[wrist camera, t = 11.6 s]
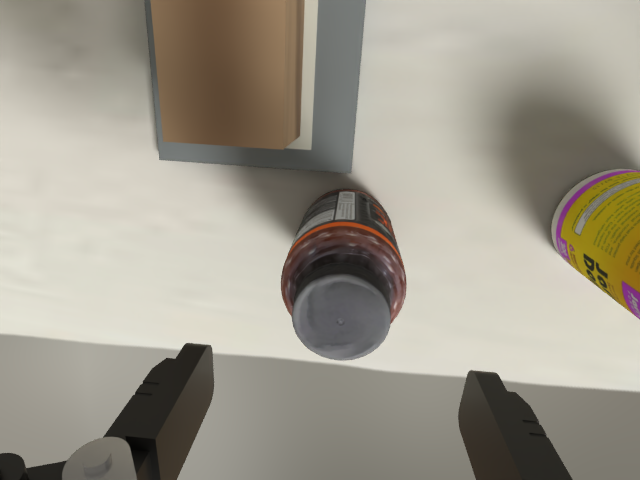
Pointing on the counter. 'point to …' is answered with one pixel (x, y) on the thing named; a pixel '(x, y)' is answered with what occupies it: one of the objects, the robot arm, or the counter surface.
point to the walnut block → (229, 71)
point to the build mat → (316, 102)
